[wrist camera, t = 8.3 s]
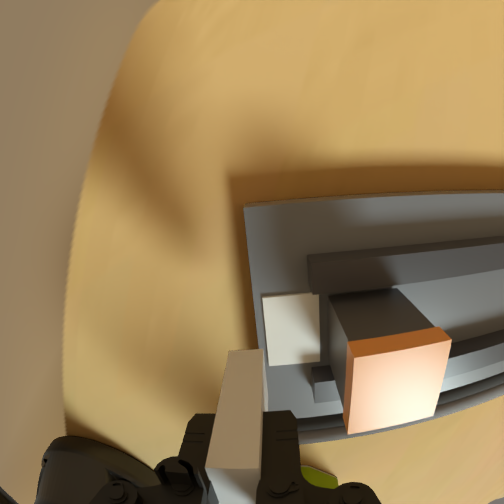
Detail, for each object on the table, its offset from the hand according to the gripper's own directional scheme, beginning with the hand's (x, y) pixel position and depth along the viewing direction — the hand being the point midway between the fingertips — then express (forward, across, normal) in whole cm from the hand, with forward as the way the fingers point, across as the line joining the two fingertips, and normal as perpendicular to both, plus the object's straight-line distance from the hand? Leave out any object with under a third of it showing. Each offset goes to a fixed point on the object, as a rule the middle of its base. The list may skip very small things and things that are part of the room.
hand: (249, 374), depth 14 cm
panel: (+6, +12, 0) cm, 14 cm away
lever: (+4, +6, 0) cm, 7 cm away
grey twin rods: (+6, +12, -10) cm, 17 cm away
